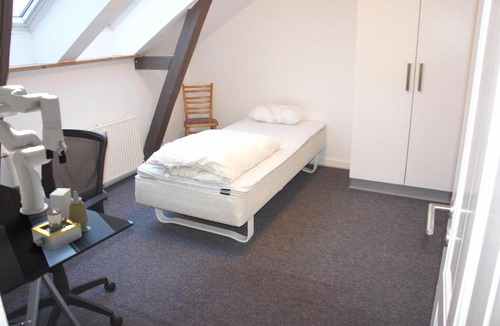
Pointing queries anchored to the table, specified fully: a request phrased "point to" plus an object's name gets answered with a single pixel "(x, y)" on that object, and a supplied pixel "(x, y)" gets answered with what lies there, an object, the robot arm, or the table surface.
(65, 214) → the skincare box
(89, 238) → the table surface
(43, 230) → the box
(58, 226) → the spout can
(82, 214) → the squeeze bottle
